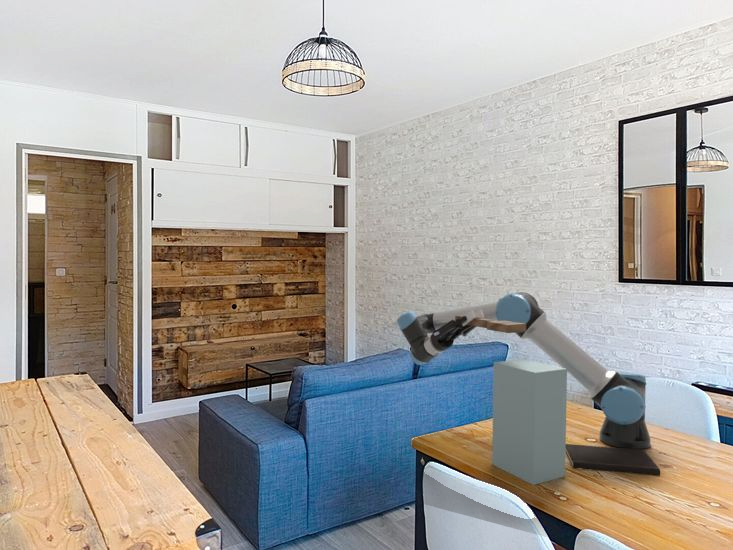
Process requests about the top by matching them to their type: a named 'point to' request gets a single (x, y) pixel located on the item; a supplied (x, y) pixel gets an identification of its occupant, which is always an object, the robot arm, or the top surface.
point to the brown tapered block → (497, 325)
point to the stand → (529, 420)
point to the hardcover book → (611, 459)
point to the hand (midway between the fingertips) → (477, 313)
